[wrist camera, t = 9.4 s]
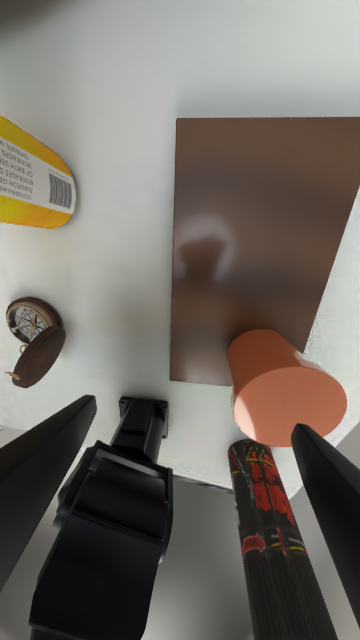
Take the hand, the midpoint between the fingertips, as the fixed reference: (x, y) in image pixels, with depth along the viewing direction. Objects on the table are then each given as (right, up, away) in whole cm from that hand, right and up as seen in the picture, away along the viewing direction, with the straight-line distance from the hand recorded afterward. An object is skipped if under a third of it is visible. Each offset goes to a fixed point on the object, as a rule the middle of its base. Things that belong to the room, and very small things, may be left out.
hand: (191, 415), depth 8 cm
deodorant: (+9, -15, +18) cm, 25 cm away
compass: (-17, +3, +14) cm, 22 cm away
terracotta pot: (+7, 0, +10) cm, 12 cm away
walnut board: (+5, +8, +9) cm, 13 cm away
